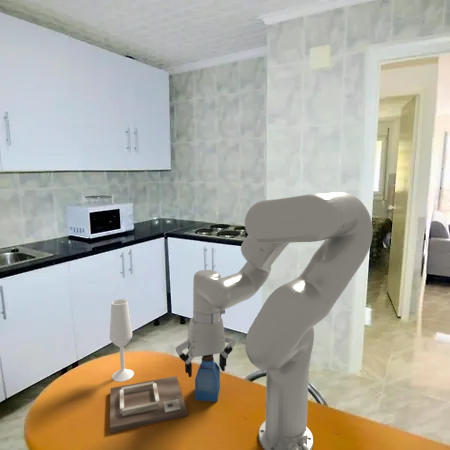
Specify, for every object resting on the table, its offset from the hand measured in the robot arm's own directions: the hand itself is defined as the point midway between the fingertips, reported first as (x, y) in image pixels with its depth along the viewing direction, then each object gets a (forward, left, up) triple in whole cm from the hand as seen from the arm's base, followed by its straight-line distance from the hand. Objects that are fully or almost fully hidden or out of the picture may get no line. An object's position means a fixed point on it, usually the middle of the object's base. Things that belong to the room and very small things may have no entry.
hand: (205, 371), depth 95 cm
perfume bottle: (-1, 0, -7) cm, 7 cm away
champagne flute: (+16, +23, -7) cm, 29 cm away
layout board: (0, +17, -7) cm, 18 cm away
